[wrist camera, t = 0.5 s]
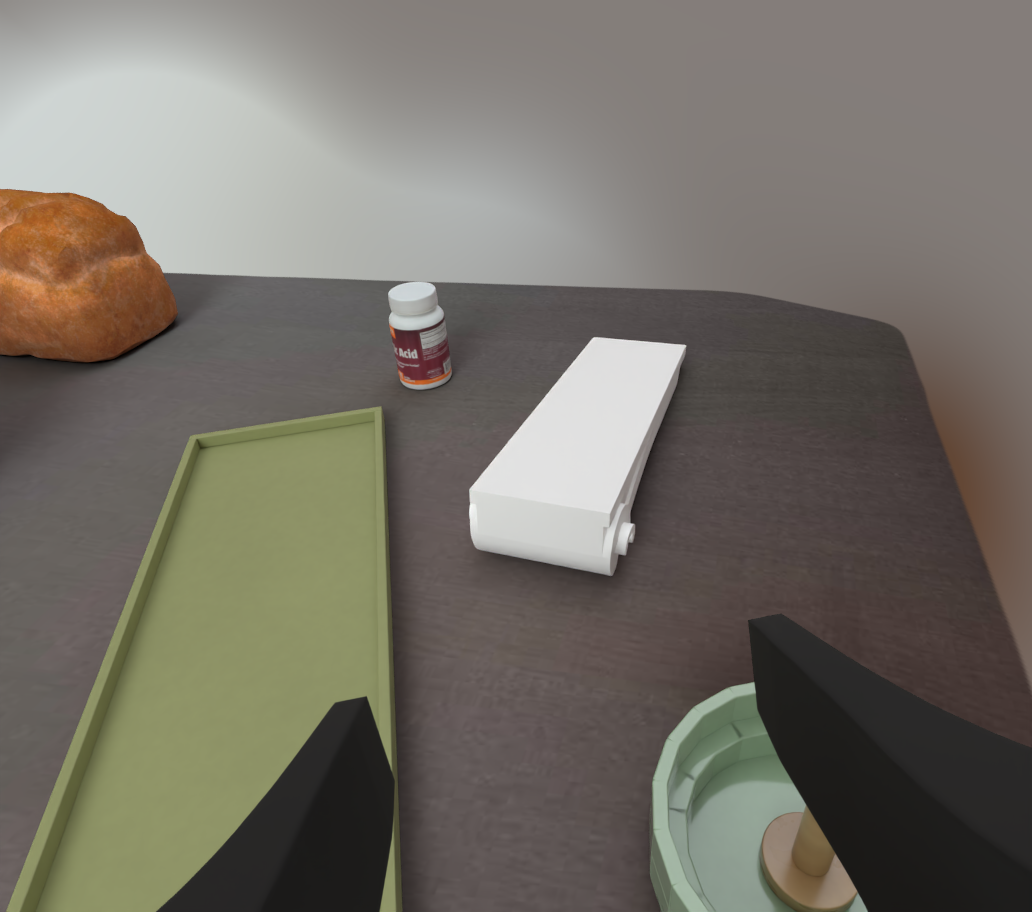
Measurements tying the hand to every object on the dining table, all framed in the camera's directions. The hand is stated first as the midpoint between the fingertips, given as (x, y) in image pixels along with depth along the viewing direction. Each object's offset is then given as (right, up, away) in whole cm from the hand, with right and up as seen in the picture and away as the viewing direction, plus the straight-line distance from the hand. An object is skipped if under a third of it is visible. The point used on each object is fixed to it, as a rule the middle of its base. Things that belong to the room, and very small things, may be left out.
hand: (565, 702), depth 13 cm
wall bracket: (+5, +5, +39) cm, 40 cm away
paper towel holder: (+10, -12, +14) cm, 21 cm away
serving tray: (-16, -5, +28) cm, 33 cm away
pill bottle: (-9, +11, +50) cm, 53 cm away
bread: (-52, +18, +66) cm, 86 cm away
